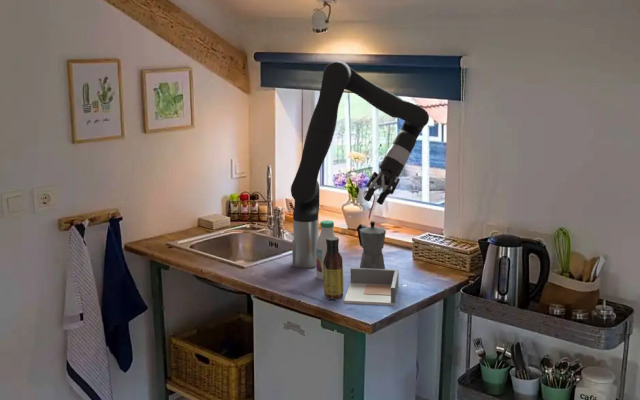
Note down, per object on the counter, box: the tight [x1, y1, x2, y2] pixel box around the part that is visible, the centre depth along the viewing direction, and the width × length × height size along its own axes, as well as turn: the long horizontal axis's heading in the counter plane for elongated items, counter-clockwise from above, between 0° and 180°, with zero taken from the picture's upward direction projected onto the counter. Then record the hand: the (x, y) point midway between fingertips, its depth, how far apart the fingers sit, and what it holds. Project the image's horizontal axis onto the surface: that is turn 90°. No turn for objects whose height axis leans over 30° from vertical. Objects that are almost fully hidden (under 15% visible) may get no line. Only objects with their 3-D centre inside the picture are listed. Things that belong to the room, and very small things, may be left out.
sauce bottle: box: [323, 236, 344, 300], centre depth 234 cm, size 6×6×20 cm
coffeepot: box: [356, 221, 387, 269], centre depth 261 cm, size 15×9×18 cm, turn 34°
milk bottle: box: [315, 219, 336, 281], centre depth 253 cm, size 8×8×20 cm
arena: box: [343, 267, 400, 306], centre depth 237 cm, size 16×18×6 cm
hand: (372, 201), depth 248 cm, fingers open, 8 cm apart
